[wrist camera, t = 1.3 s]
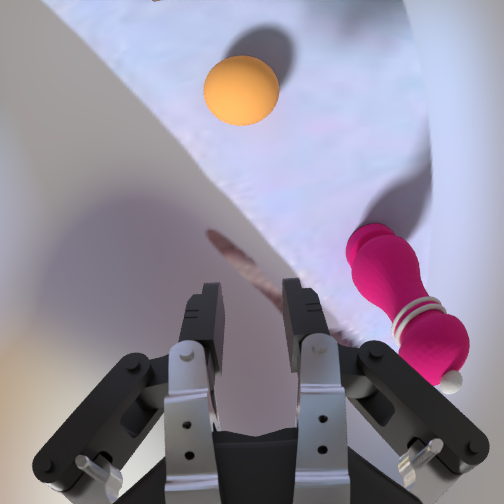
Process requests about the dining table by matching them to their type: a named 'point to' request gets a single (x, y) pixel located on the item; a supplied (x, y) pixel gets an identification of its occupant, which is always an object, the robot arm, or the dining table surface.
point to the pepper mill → (408, 305)
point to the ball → (241, 90)
